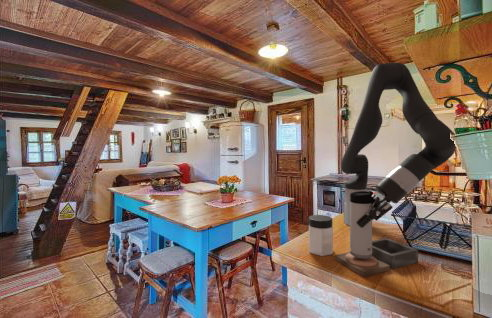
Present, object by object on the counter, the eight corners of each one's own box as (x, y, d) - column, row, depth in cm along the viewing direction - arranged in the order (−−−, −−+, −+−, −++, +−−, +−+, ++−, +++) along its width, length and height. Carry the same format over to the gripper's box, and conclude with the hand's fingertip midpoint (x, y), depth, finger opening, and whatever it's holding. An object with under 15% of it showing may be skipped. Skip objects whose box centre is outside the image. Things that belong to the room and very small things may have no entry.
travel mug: (376, 259, 74) (376, 193, 73) (352, 258, 75) (352, 192, 74) (370, 251, 80) (369, 189, 79) (348, 249, 81) (348, 189, 80)
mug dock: (334, 259, 82) (334, 247, 81) (385, 248, 90) (385, 237, 89) (364, 277, 70) (364, 263, 70) (418, 262, 78) (419, 250, 78)
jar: (323, 245, 94) (323, 213, 93) (338, 253, 86) (338, 219, 86) (303, 248, 91) (303, 216, 90) (316, 257, 83) (316, 222, 83)
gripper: (378, 173, 82) (341, 207, 85) (398, 178, 68) (352, 220, 71) (395, 189, 82) (357, 223, 84) (419, 198, 68) (372, 239, 70)
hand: (355, 221), depth 77 cm, fingers closed on travel mug, 6 cm apart
